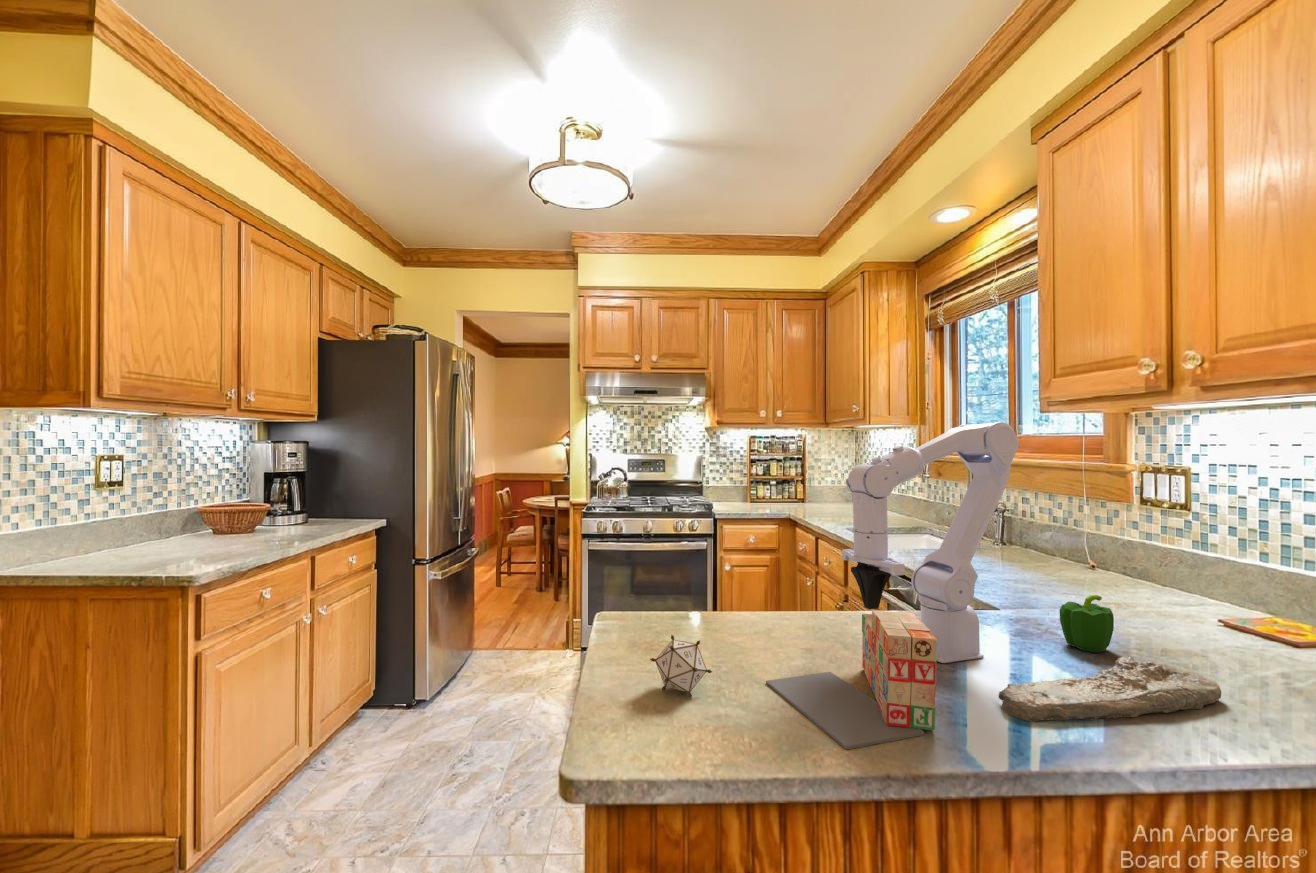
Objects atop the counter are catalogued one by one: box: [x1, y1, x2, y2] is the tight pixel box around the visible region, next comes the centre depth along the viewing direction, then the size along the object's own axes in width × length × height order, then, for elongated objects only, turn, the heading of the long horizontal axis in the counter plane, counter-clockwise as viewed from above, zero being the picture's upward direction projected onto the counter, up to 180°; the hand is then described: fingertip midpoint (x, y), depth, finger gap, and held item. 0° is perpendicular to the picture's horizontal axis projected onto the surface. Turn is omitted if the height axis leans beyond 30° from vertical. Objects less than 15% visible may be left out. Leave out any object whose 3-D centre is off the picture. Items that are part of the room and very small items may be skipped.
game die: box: [649, 634, 713, 699], centre depth 88 cm, size 9×8×10 cm
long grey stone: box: [998, 656, 1222, 723], centre depth 83 cm, size 35×5×10 cm
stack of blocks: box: [861, 609, 937, 731], centre depth 85 cm, size 21×6×12 cm, turn 169°
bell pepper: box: [1059, 594, 1115, 653], centre depth 105 cm, size 8×8×10 cm
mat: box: [765, 671, 925, 751], centre depth 82 cm, size 12×21×1 cm, turn 17°
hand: (871, 607), depth 100 cm, fingers closed
